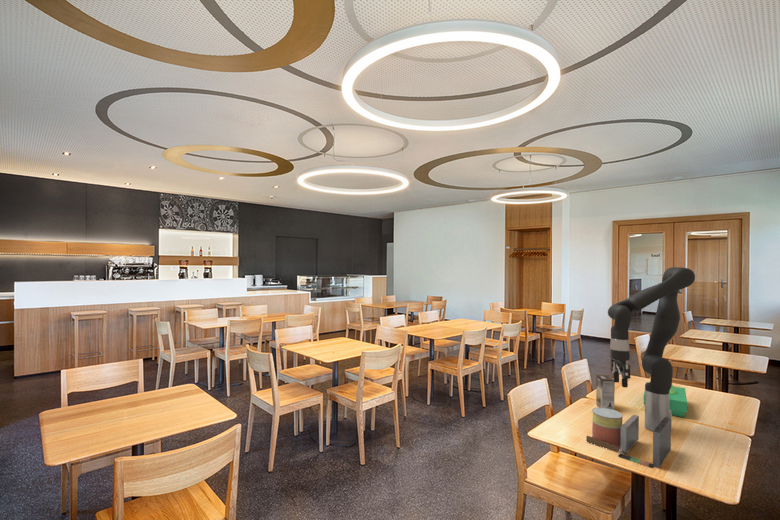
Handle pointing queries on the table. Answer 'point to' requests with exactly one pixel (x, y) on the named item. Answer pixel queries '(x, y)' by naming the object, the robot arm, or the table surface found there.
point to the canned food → (607, 425)
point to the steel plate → (629, 434)
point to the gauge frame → (659, 445)
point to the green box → (676, 401)
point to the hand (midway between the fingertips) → (620, 384)
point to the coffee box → (605, 391)
